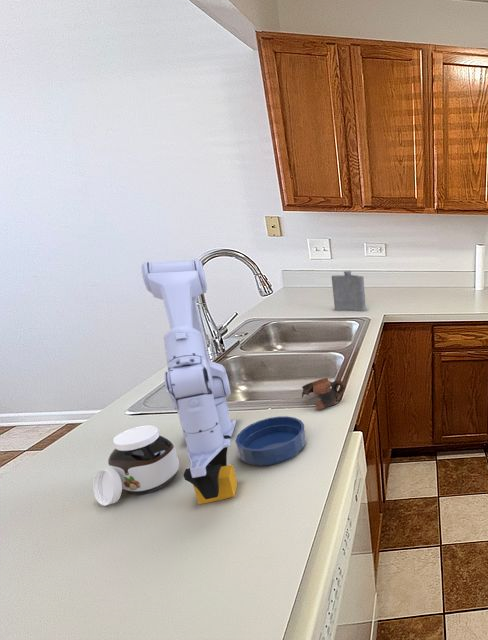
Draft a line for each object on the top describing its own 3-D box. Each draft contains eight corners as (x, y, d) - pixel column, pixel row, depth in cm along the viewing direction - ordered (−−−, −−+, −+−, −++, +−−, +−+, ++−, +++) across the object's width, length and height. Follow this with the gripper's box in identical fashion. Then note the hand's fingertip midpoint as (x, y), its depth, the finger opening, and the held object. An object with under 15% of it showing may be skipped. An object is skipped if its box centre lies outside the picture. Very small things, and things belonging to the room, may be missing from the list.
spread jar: (188, 470, 86) (175, 424, 82) (149, 509, 75) (132, 458, 71) (131, 470, 85) (115, 423, 81) (83, 509, 75) (62, 458, 70)
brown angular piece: (306, 415, 109) (295, 387, 109) (312, 413, 118) (302, 387, 118) (349, 398, 112) (339, 371, 112) (351, 397, 121) (342, 372, 121)
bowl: (234, 473, 85) (230, 456, 84) (244, 437, 97) (241, 422, 96) (306, 459, 90) (303, 443, 89) (306, 427, 103) (304, 412, 101)
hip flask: (334, 310, 204) (329, 271, 197) (336, 308, 207) (332, 270, 200) (365, 311, 204) (362, 272, 197) (367, 308, 208) (364, 270, 201)
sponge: (198, 504, 77) (192, 483, 75) (203, 491, 80) (198, 470, 78) (234, 497, 79) (229, 476, 77) (237, 484, 82) (232, 464, 80)
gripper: (218, 442, 69) (232, 504, 74) (232, 403, 81) (244, 458, 86) (169, 450, 66) (187, 513, 71) (192, 409, 79) (206, 465, 84)
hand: (216, 484), depth 78 cm, fingers open, 7 cm apart
